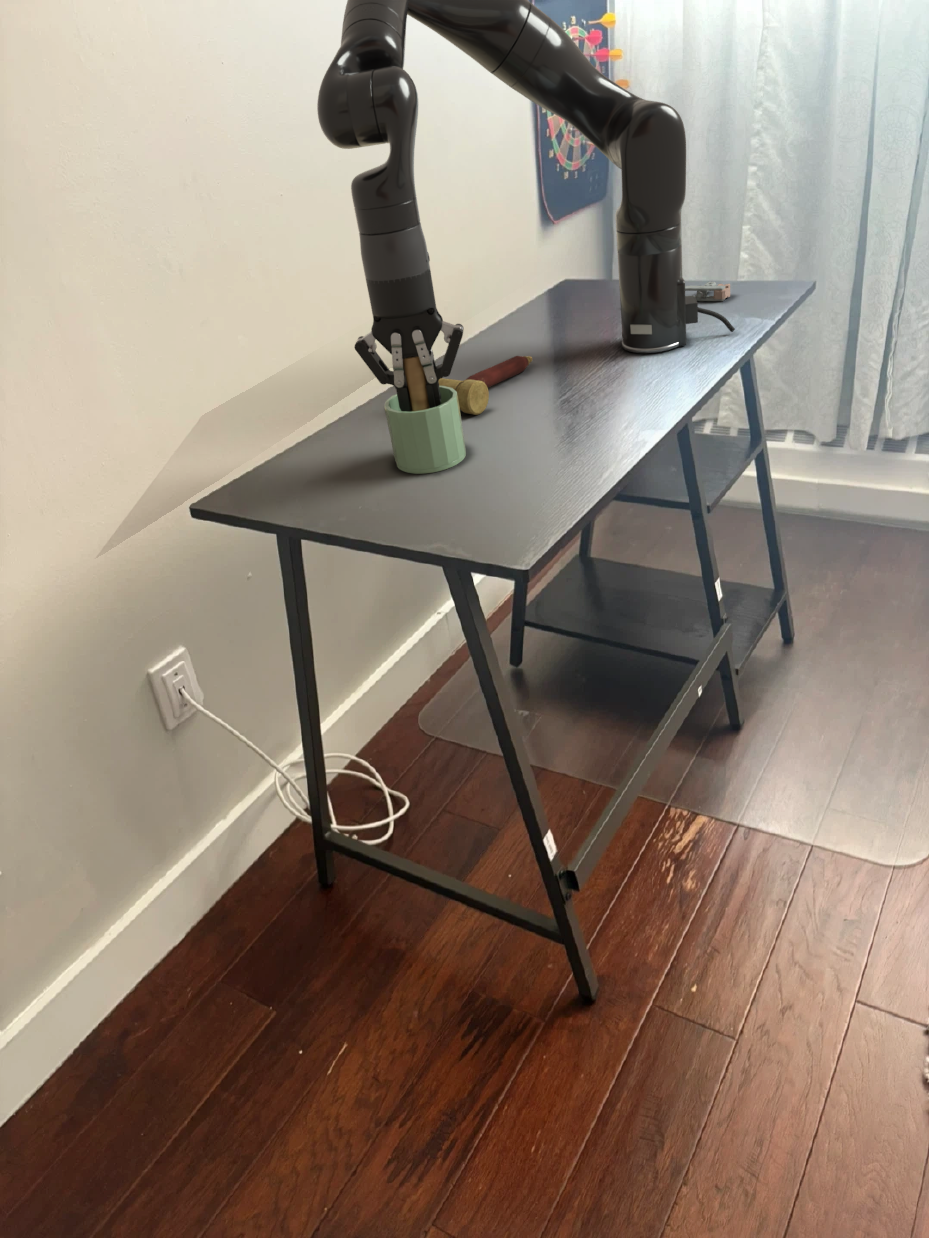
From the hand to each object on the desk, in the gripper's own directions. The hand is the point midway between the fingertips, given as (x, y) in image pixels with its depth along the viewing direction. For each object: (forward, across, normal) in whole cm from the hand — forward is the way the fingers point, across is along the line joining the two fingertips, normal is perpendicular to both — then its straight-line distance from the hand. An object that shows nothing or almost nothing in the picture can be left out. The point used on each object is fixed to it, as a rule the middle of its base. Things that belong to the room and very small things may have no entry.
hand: (422, 411), depth 119 cm
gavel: (+7, +7, +23) cm, 25 cm away
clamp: (+6, +40, +56) cm, 69 cm away
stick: (+3, 0, 0) cm, 3 cm away
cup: (+6, 0, 0) cm, 6 cm away
